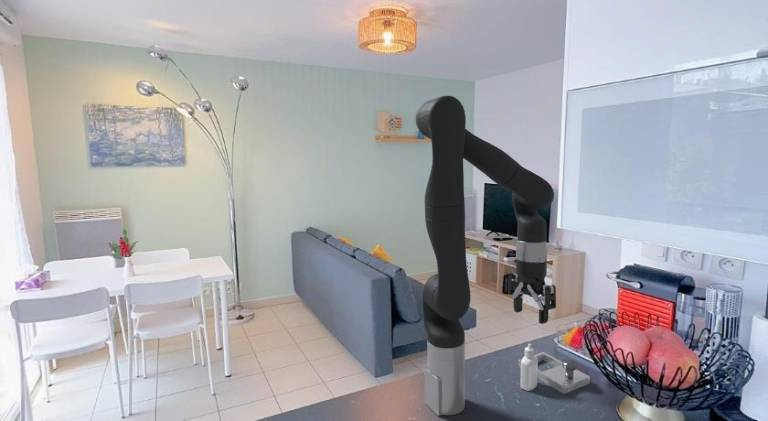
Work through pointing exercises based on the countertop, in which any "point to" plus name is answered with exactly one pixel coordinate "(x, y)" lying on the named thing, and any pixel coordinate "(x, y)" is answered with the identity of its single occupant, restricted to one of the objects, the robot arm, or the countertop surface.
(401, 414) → the countertop surface
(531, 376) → the eye dropper bottle
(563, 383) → the bolt plate
